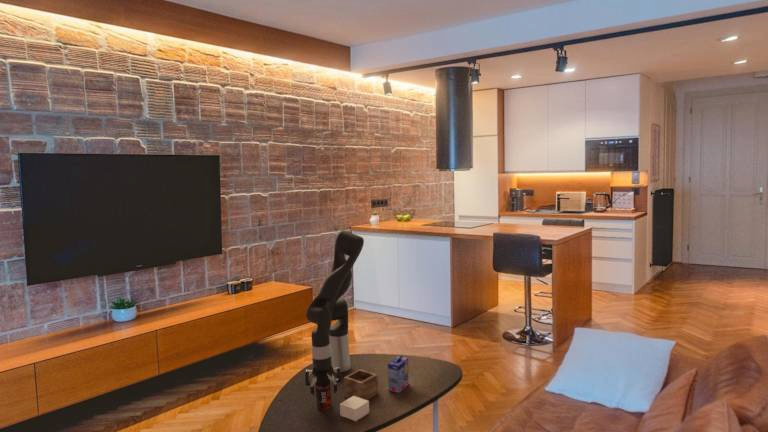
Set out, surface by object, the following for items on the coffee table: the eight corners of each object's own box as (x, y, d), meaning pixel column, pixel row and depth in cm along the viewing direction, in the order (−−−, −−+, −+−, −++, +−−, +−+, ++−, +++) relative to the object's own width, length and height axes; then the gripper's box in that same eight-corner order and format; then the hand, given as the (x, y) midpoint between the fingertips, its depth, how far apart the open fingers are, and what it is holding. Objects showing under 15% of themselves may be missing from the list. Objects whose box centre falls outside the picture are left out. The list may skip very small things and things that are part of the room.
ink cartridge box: (399, 393, 222) (398, 360, 220) (388, 391, 225) (386, 358, 223) (409, 383, 231) (408, 352, 229) (398, 381, 234) (396, 350, 232)
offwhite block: (340, 415, 207) (339, 403, 206) (354, 407, 213) (353, 395, 212) (355, 421, 202) (355, 409, 201) (369, 412, 208) (368, 400, 207)
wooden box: (344, 396, 222) (343, 377, 221) (361, 387, 230) (359, 368, 229) (362, 403, 216) (361, 383, 215) (378, 393, 224) (377, 374, 222)
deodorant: (320, 411, 211) (317, 375, 209) (314, 405, 216) (312, 370, 214) (333, 407, 213) (331, 371, 211) (328, 401, 219) (326, 366, 217)
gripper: (303, 360, 207) (306, 399, 209) (339, 356, 209) (342, 396, 211) (304, 352, 215) (306, 390, 217) (339, 349, 216) (341, 387, 218)
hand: (324, 393), depth 214 cm, fingers open, 8 cm apart
